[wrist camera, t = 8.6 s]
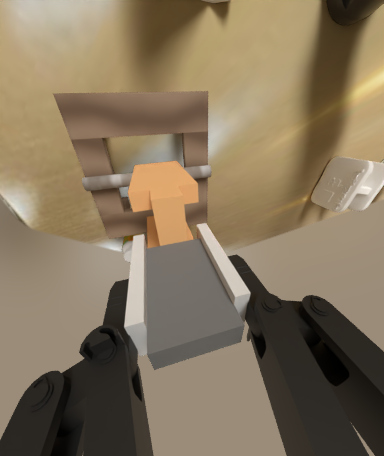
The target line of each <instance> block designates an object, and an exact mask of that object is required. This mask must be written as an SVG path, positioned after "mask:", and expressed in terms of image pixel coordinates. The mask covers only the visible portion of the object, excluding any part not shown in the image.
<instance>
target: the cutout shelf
mask: <svg viewBox="0 0 384 456" xmlns="http://www.w3.org/2000/svg"><path fill="white" fill-rule="evenodd" d="M53 95H54V97H55V100H56V102H57V105H58V108H59V110H60V113H61V115H62V118H63V121H64V123H65V126H66V128H67V131H68V133H69V136H70V139H71V141H72V144H73V146H74V149H75V152H76V154H77V157H78V159H79V162H80V164H81V167H82V170H83V172H84V175H85V178H83V179H82V182H83V186H84V188H85V190H86V191H91V193H92V196H93V198H94V201H95V203H96V206H97V208H98V211H99V214H100V216H101V219H102V221H103V224H104V227H105V229H106V232H107V234H108V237H109V239H111V238H117V237H123V236H129V235H135V234H141V233H147V217H149V216H154V213H153V209H151V210H145V211H138V212H133V210H132V208H131V209H130V204H129V200H128V197H123V198H121V195H120V191H119V188H118V187H127V186H130V182H131V178H132V174H133V173H124V174H114V171H113V167H112V164H111V160H110V157H109V153H108V150H107V147H106V143H105V140H104V138H107V137H123V136H140V135H156V134H173V133H182V144H183V159H184V169H185V170H186V171H187V173H188V174H189V175H190V176H191V177H192V178H193V179H194V180H195V181H196V182H197V183H198V199H199V202H197V203H190V204H184V208H185V219H186V223H187V225H188V226H189V225H195V224H201V223H207V191H208V177H211V167H210V165H208V91H195V92H129V93H62V94H53Z"/></svg>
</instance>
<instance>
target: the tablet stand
mask: <svg viewBox="0 0 384 456" xmlns="http://www.w3.org/2000/svg"><path fill="white" fill-rule="evenodd" d="M202 1H206V2H210V3H218V2H224V1H230V0H202Z"/></svg>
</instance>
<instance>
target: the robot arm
mask: <svg viewBox="0 0 384 456" xmlns="http://www.w3.org/2000/svg"><path fill="white" fill-rule="evenodd" d="M382 4H384V0H327V5H328V9H329V12H330V14H331V16H332V18H333V19H334V20H335V21H336V22H337V23H338V24H340V25H351V24H354V23H356V22H358V21H360V20H362V19H364V18H366V17H367V16H369V15H370V14H372V13H373V12H374V11H375V10H377V9H378V8H379V7H380V6H381V5H382ZM199 238H200V239H201V241H202V243H203V245H204V247H205V249H206V251H207V253H208V255H209V257H210V259H211V261H212V263H213V265H214V267H215V269H216V271H217V273H218V275H219V277H220V279H221V281H222V283H223V285H224V287H225V289H226V291H227V293H228V295H229V297H230V299H231V301H232V303H233V305H234V306H235V307H236V309H237V311H238V313H239V315H240V317H241V319H242V321H243V323H244V322H245V320H246V322H247V324H248V325H249V330H248V334H247V341H249V340H250V339H251V342H252V345H253V348H254V351H255V355H256V358H257V361H258V364H259V368H260V371H261V374H262V377H263V381H264V384H265V387H266V390H267V393H268V397H269V400H270V403H271V406H272V410H273V412H274V416H275V419H276V422H277V426H278V429H279V432H280V435H281V439H282V442H283V445H284V448H285V452H286V455H287V456H369V454H368V453H367V451H366V449H365V447H364V446H363V444H362V442H361V440H360V439H359V437H358V435H357V433H356V431H355V429H356V430H357V431H358V433H359V434H360V435H361V437H362V438H363V440H364V441H365V442H366V444H367V445H368V446H369V448H370V449H371V451H372V452H373V453H374V455H375V456H384V352H383V351H382V350H381V349H380V348H379V347H378V346H377V345H376V344H375V343H373V342H372V341H371V340H370V339H369V338H368V337H367V336H366V335H365V334H364V333H362V332H361V331H360V330H359V329H357V327H356V326H355V325H354V324H352V323H351V322H350V321H349V320H348V319H347V318H346V317H345V316H344V315H343V314H341V313H340V312H339V311H338V310H337V309H336V308H335V307H334V306H333V305H332V304H330V303H329V302H327V301H326V300H325V299H323V298H320V297H318V296H313V295H309V296H306V297H304V298H303V300H302V302H301V301H300V302H299V301H285V300H281V299H279V298H278V297H277V296H275V295H273V294H270V293H269V292H268V291H267V290H266V288H265V287H264V286H263V284H262V283H261V282H260V281H259V279H258V278H257V276H256V275H255V274H254V273H253V272H252V270H251V269H250V267H249V266H248V265H247V263H246V262H245V261H244V259H242V258H241V257H240V256H238V255H233V256H228V257H227V255H226V254H225V252H224V251H223V249H222V248H221V246H220V244H219V243H218V241H217V240H216V238H215V237H214V235H213V233H212V232H211V230H210V229H209V227H208V226H207V224H206V223H204V224H198V225H197V239H199ZM147 248H148V247H147V244H146V240H145V236H144V234H142V235H137V236H133V245H132V255H131V266H130V275H129V279H127V280H122V281H118V282H115V283H114V285H113V287H112V288H111V290H110V293H109V298H108V299H109V300H108V303H107V308H106V312H105V317H104V322H103V325H102V326H99V327H98V328H96V329H94V330H93V331H92V332H91V333H90V334H89V335H88V336H87V337H86V338H85V340H84V341H83V343H82V344H81V348H80V352H79V353H80V354H81V355H82V356H83V357H84V358H85V359H83V360H82V361H80V362H79V363H77V364H76V365H74V366H72V367H71V368H69V369H68V370H66V371H64V372H63V373H60V372H59V371H50V372H48V373H46V374H44V375H42V376H41V377H39V378H38V379H37V380H36V381H34V382H33V383H32V384H31V386H30V387H29V388H28V389H27V390H26V391H25V393H24V394H23V396H22V397H21V399H20V401H19V403H18V405H17V407H16V409H15V411H14V413H13V415H12V417H11V419H10V421H9V423H8V426H7V427H6V429H5V432H4V433H3V436H2V438H1V440H0V456H82V455H83V456H153V450H152V444H151V437H150V432H149V425H148V419H147V413H146V406H145V400H144V394H143V388H142V381H141V376H140V369H139V367H138V364H137V357H138V355H137V354H139V356H143V355H146V354H147V286H146V249H147ZM351 423H352V424H351ZM352 425H353V426H354V427H355V429H354V428H353V426H352ZM83 450H84V451H83Z"/></svg>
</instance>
